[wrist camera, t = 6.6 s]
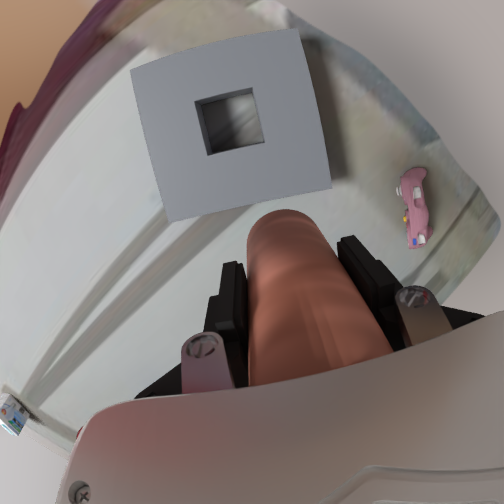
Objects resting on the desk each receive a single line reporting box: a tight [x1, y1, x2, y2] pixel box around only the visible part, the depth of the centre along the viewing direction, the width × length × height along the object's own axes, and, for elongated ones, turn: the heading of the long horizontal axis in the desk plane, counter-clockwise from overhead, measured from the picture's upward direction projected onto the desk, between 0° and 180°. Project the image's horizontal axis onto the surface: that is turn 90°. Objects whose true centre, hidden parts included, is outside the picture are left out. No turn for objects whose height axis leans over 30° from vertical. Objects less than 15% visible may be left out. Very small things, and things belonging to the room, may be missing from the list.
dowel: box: [247, 209, 394, 387], centre depth 10 cm, size 4×4×12 cm
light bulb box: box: [0, 393, 30, 436], centre depth 53 cm, size 11×7×11 cm, turn 20°
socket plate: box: [130, 28, 332, 223], centre depth 28 cm, size 18×18×4 cm
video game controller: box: [396, 167, 433, 249], centre depth 31 cm, size 10×5×7 cm, turn 18°
